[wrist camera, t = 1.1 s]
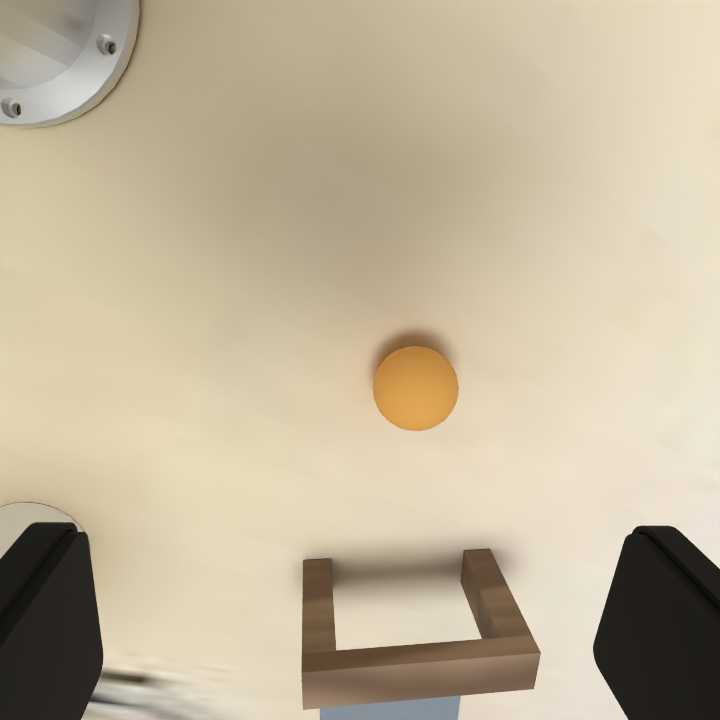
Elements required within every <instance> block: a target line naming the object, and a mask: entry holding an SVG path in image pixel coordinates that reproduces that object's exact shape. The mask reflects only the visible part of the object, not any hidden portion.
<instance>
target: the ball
mask: <svg viewBox="0 0 720 720" xmlns="http://www.w3.org/2000/svg"><path fill="white" fill-rule="evenodd" d="M373 393H374V399H375V402H376V405H377V407H378V409H379V411H380V412H381V413H382V415H383V416H384V417H385V418H386V419H387V420H388V421H389V422H391V423H392V424H394V425H395V426H397V427H399V428H402V429H405V430H411V431H422V430H427V429H430V428H433V427H435V426H437V425H438V424H440V423H441V422H443V421H444V420H445V419H446V418H447V417H448V416H449V415H450V413H451V412H452V410H453V408H454V406H455V404H456V401H457V397H458V380H457V376H456V373H455V371H454V369H453V367H452V366H451V364H450V363H449V361H448V360H447V359H446V358H445V357H444V356H442V355H441V354H440V353H438V352H437V351H434V350H432V349H430V348H427V347H422V346H409V347H404V348H401V349H399V350H397V351H395V352H393V353H391V354H390V355H389V356H388V357H386V358H385V360H384V361H383V362H382V363H381V365H380V366H379V368H378V370H377V372H376V374H375V378H374V383H373Z"/></svg>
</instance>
